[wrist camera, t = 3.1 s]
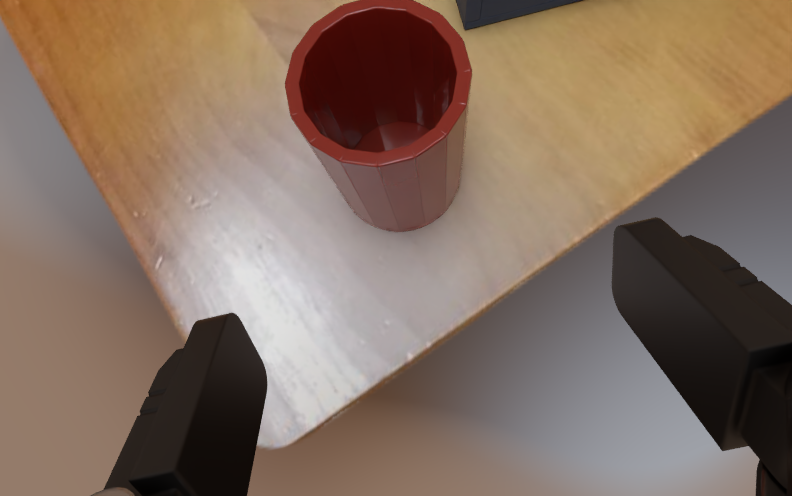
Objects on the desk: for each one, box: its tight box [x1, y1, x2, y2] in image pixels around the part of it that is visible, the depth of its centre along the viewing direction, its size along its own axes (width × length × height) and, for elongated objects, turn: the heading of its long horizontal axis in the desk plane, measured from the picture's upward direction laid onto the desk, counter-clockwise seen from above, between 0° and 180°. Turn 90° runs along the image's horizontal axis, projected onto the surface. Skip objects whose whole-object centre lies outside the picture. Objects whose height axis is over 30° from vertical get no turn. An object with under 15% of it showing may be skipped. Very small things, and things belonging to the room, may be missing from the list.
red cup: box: [285, 0, 472, 232], centre depth 20 cm, size 6×6×9 cm
